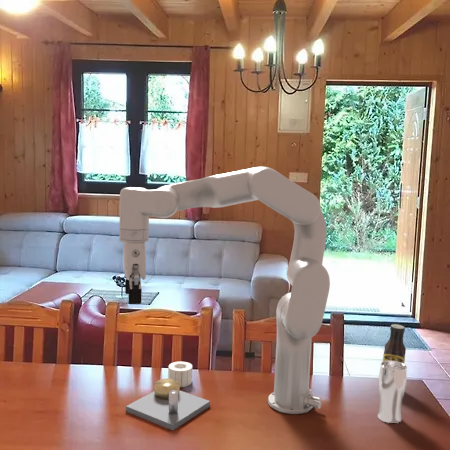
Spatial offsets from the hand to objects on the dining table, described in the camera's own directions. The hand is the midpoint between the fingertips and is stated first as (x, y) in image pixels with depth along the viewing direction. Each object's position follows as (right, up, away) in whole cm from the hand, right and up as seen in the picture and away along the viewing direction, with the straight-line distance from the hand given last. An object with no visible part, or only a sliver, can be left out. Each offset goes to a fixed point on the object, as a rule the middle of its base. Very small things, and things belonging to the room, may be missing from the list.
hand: (133, 298), depth 141 cm
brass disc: (+8, -28, +8) cm, 30 cm away
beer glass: (+68, -33, +2) cm, 76 cm away
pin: (+11, -29, -2) cm, 31 cm away
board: (+9, -30, +3) cm, 32 cm away
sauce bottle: (+74, -30, +19) cm, 83 cm away
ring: (+11, -28, +19) cm, 36 cm away
